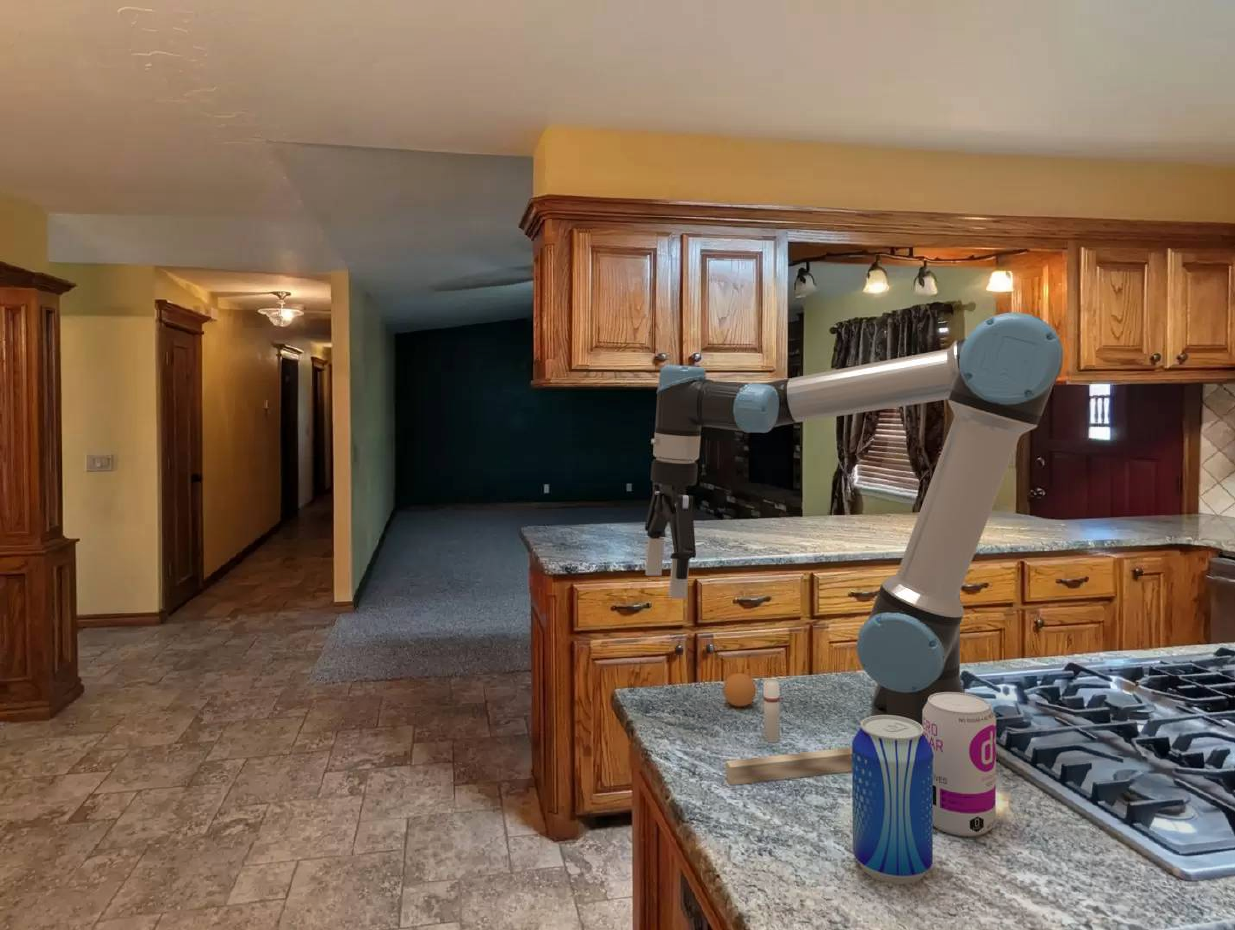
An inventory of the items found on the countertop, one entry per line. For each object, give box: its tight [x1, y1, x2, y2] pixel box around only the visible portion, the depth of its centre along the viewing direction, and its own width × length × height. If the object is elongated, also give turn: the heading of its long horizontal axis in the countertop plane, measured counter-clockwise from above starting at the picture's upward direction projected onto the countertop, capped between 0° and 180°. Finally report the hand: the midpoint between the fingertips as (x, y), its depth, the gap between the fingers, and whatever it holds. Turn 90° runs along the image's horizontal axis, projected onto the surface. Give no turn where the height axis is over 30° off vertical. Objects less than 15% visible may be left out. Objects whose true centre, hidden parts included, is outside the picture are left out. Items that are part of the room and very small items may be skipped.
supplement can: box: [922, 692, 997, 837], centre depth 100 cm, size 8×8×15 cm
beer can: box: [851, 715, 934, 885], centre depth 91 cm, size 8×8×16 cm
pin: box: [762, 679, 781, 744], centre depth 126 cm, size 2×2×9 cm
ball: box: [722, 672, 757, 707], centre depth 141 cm, size 6×6×6 cm
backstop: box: [725, 747, 852, 786], centre depth 115 cm, size 22×2×2 cm, turn 101°
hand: (664, 585), depth 138 cm, fingers open, 13 cm apart
